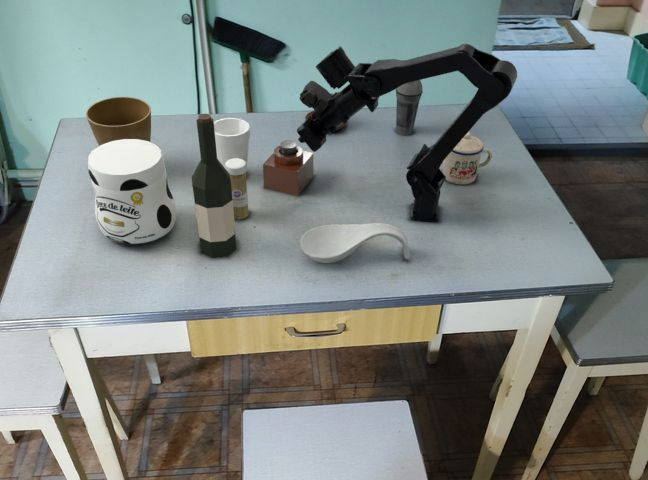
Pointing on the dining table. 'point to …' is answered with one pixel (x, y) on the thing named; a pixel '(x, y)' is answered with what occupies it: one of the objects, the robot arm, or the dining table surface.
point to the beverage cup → (407, 106)
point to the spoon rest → (346, 240)
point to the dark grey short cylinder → (288, 148)
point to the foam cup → (231, 139)
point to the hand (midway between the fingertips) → (299, 140)
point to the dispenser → (288, 171)
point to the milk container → (131, 191)
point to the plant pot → (120, 119)
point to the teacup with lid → (465, 160)
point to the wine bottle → (213, 196)
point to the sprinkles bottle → (238, 187)
